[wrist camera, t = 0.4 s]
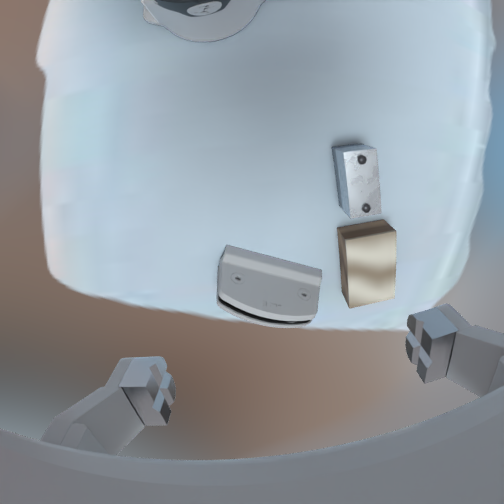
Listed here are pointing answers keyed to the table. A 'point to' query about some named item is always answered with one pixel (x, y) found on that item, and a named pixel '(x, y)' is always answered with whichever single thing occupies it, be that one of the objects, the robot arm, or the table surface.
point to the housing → (357, 179)
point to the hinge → (267, 289)
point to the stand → (367, 262)
